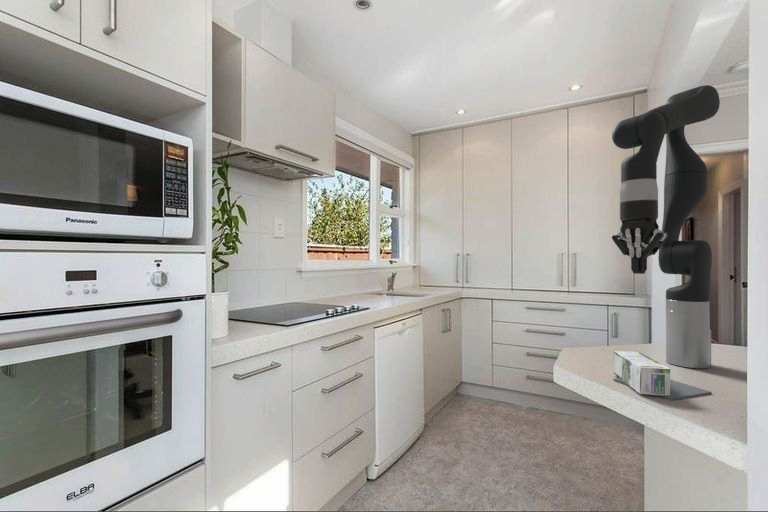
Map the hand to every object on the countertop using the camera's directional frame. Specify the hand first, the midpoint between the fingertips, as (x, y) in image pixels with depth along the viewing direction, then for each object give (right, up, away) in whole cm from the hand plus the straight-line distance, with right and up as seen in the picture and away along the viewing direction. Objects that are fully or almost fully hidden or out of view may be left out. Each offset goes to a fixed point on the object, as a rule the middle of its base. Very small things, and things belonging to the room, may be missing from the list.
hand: (638, 273), depth 90 cm
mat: (+1, -25, -6) cm, 26 cm away
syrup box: (-2, -22, +2) cm, 22 cm away
